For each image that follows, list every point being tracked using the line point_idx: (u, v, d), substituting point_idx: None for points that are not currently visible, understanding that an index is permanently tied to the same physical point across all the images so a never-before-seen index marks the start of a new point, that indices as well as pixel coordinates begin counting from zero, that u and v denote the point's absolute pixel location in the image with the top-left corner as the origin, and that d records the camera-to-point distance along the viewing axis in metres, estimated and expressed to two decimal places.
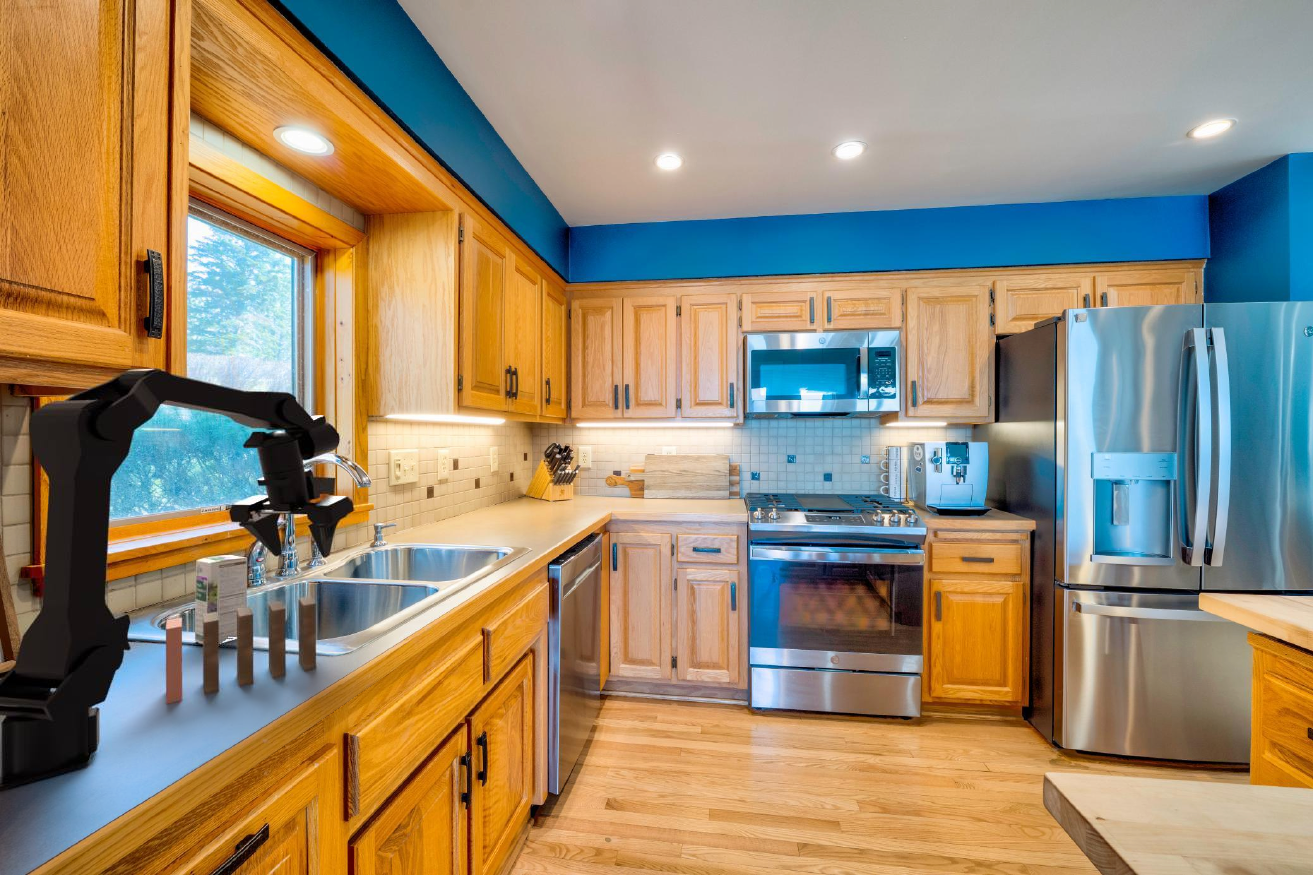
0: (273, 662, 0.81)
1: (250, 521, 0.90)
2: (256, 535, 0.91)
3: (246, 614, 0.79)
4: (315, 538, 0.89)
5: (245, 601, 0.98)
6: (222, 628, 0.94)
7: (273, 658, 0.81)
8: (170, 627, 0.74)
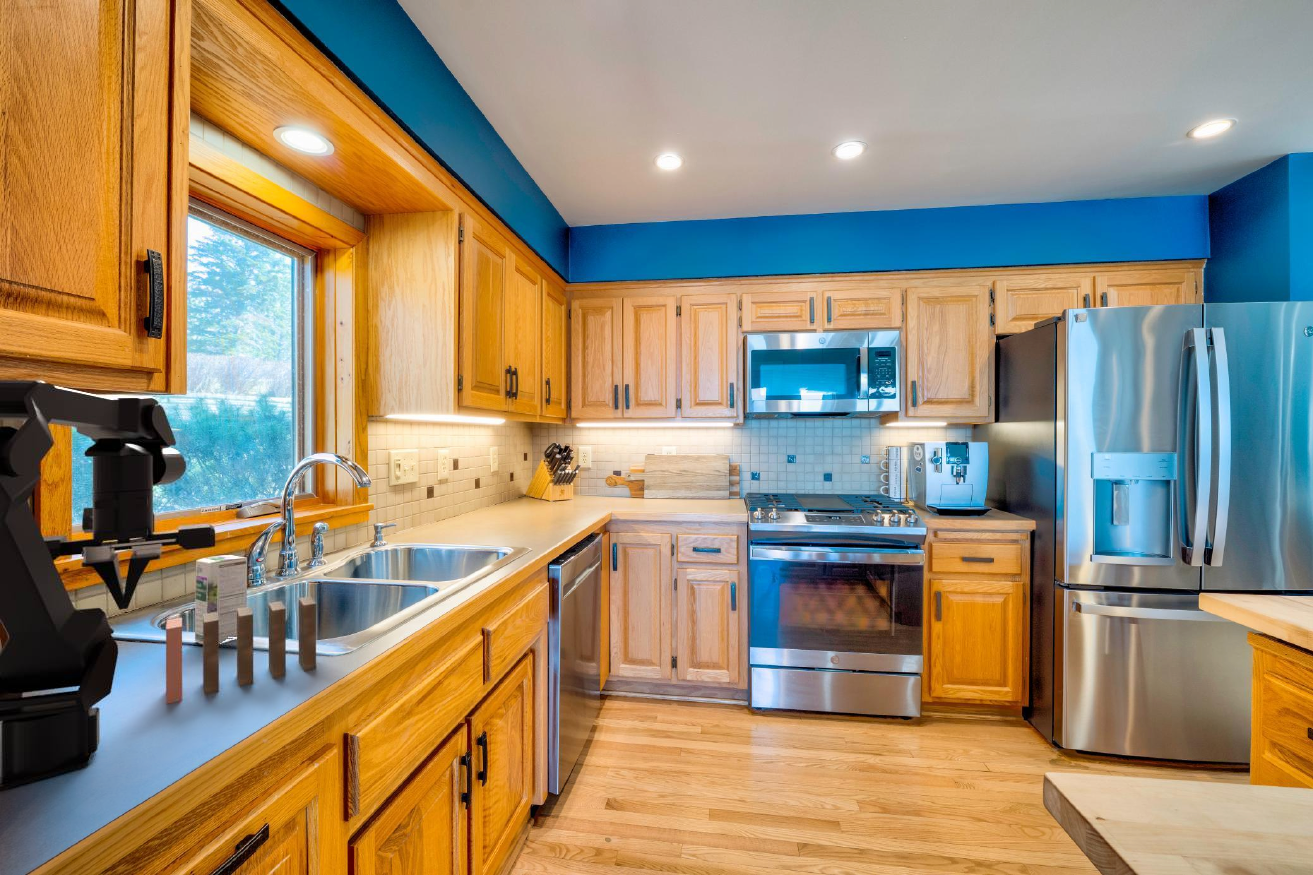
0: (273, 662, 0.81)
1: (102, 559, 0.69)
2: (108, 578, 0.70)
3: (246, 614, 0.79)
4: (130, 578, 0.71)
5: (245, 601, 0.98)
6: (222, 628, 0.94)
7: (273, 658, 0.81)
8: (170, 627, 0.74)
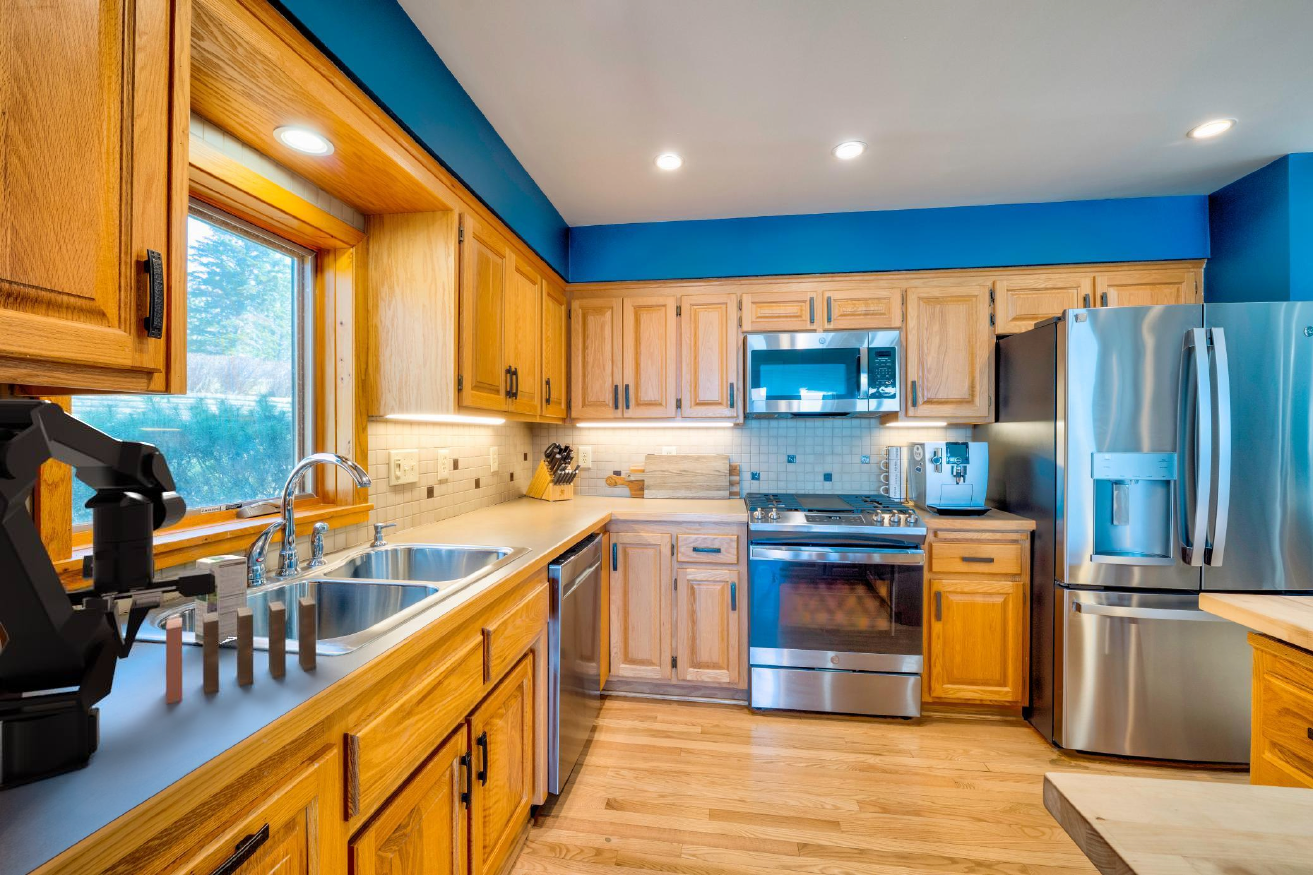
0: (273, 662, 0.81)
1: (102, 610, 0.69)
2: None
3: (246, 614, 0.79)
4: (130, 627, 0.71)
5: (245, 601, 0.98)
6: (222, 628, 0.94)
7: (273, 658, 0.81)
8: (170, 627, 0.74)
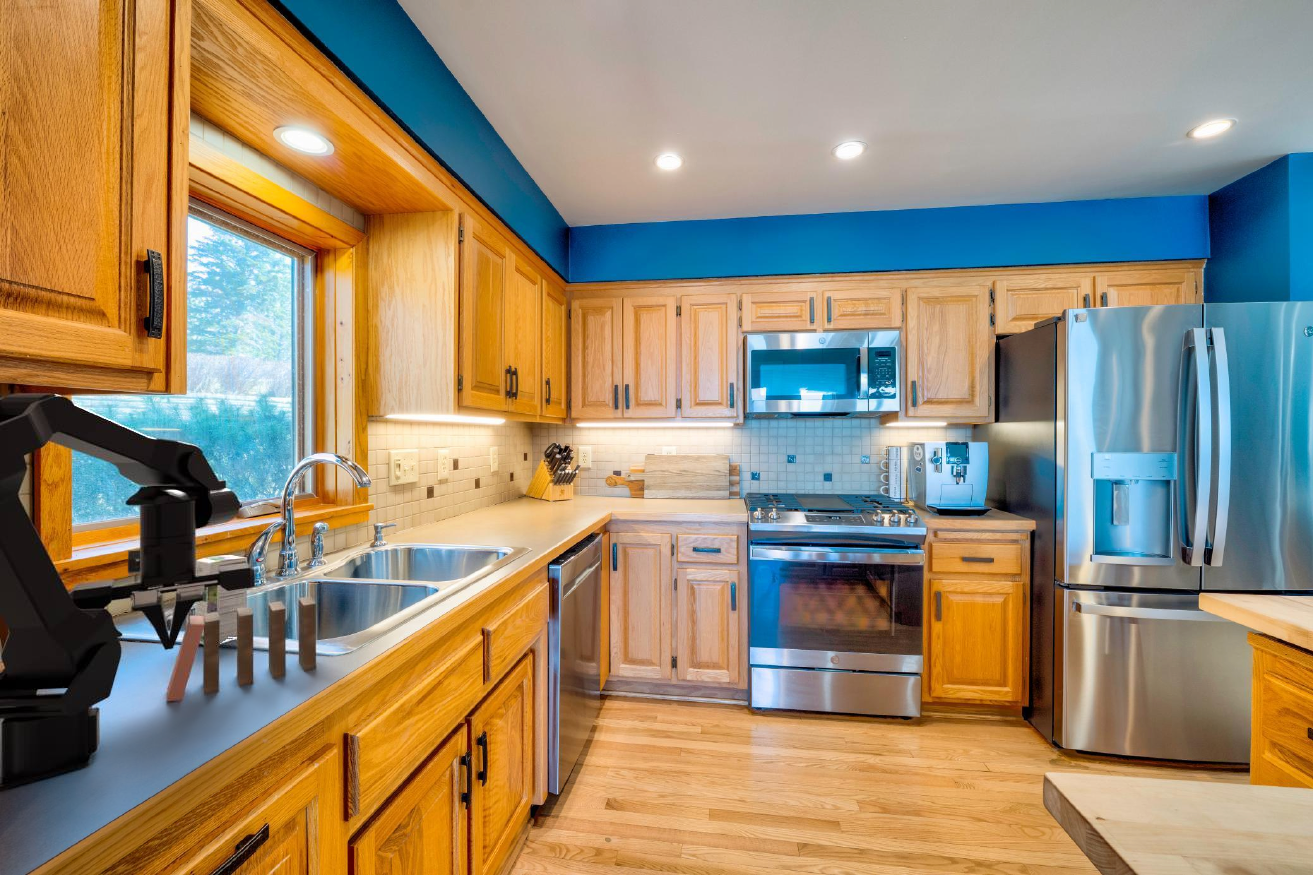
0: (273, 662, 0.81)
1: (150, 603, 0.72)
2: (156, 620, 0.73)
3: (246, 614, 0.79)
4: (176, 619, 0.74)
5: (245, 601, 0.98)
6: (222, 628, 0.94)
7: (273, 658, 0.81)
8: (194, 623, 0.75)
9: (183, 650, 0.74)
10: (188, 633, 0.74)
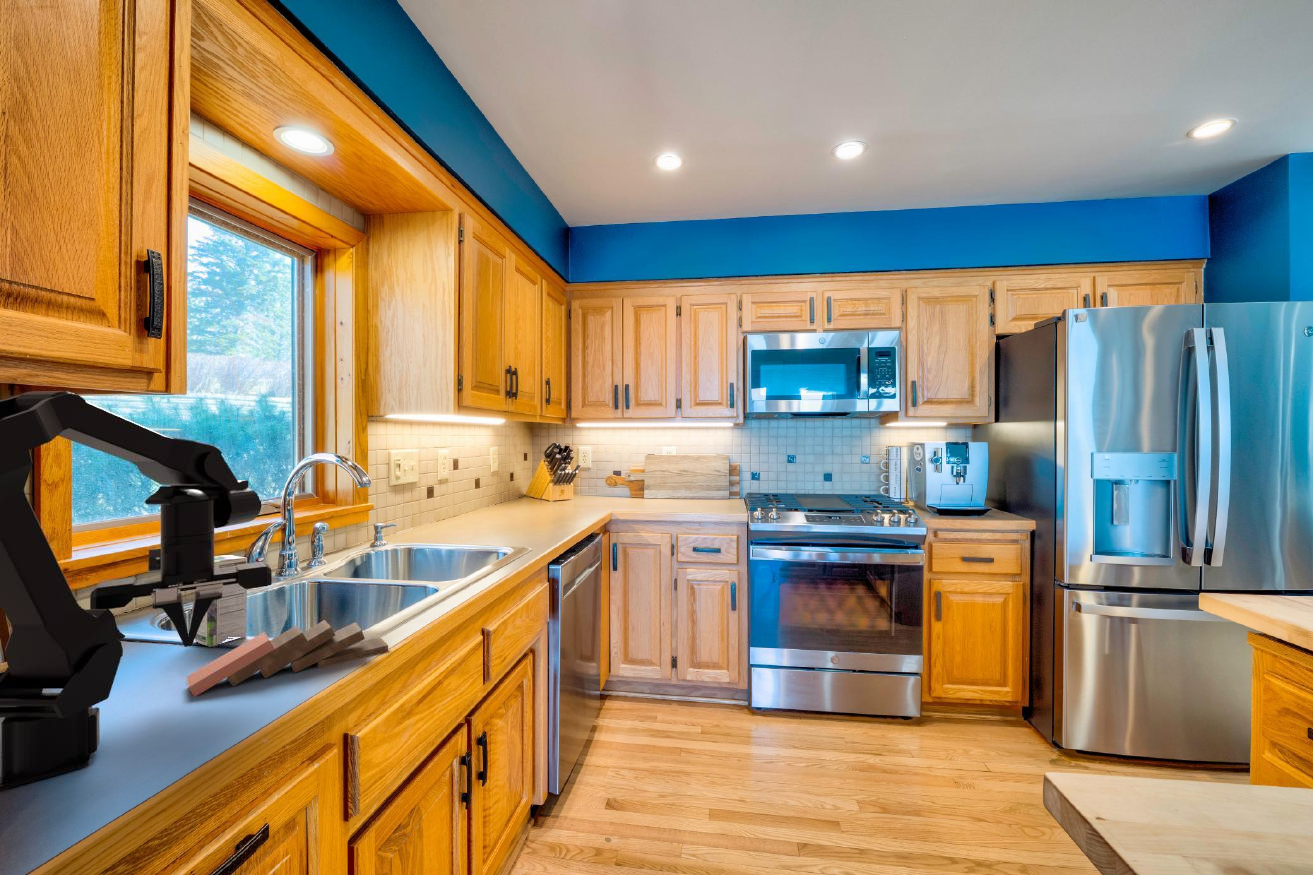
0: (308, 656, 0.84)
1: (170, 600, 0.74)
2: (176, 618, 0.74)
3: (332, 630, 0.86)
4: (195, 617, 0.75)
5: (245, 601, 0.98)
6: (222, 628, 0.94)
7: (312, 654, 0.84)
8: (270, 641, 0.81)
9: (243, 656, 0.79)
10: (260, 646, 0.80)
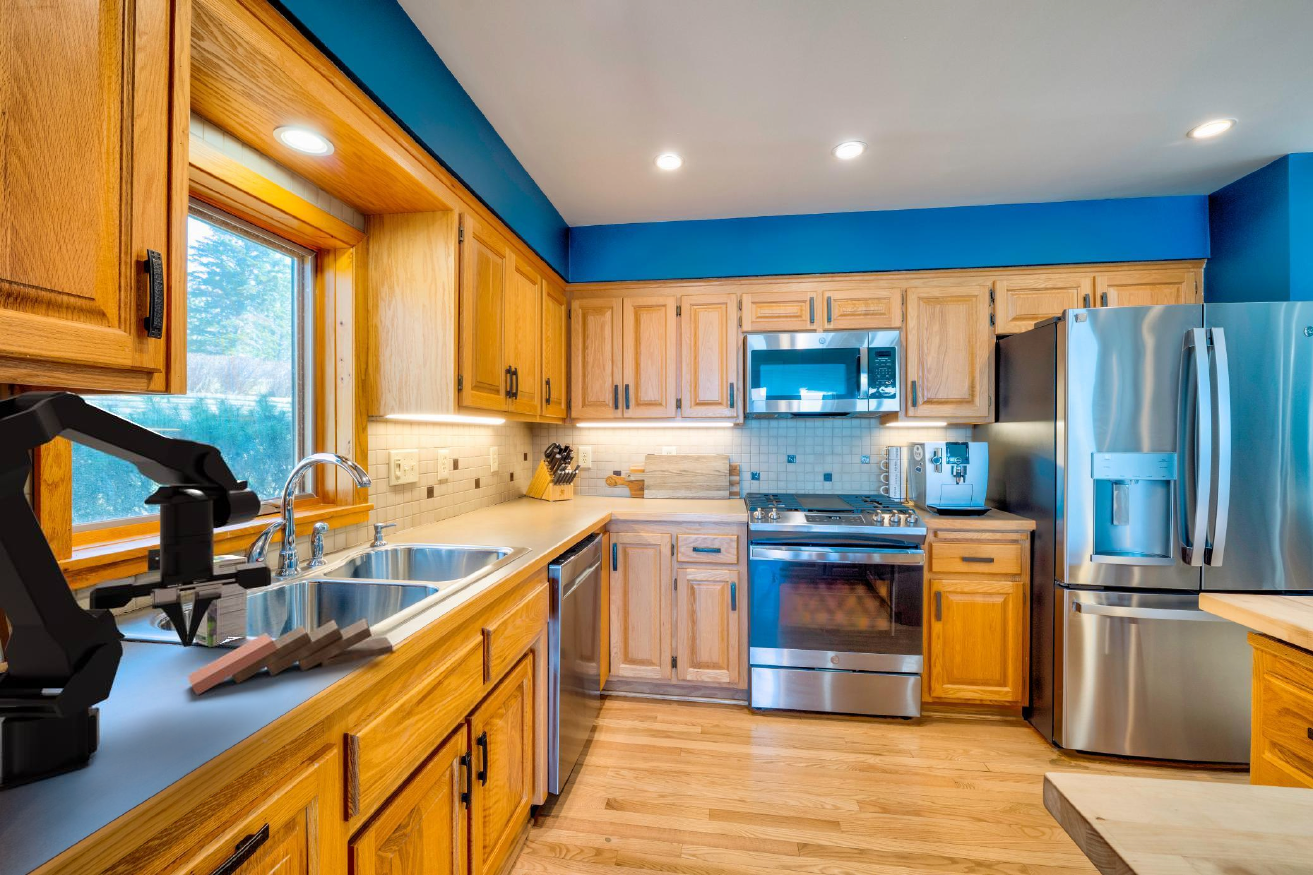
0: (315, 654, 0.84)
1: (169, 600, 0.74)
2: (175, 618, 0.74)
3: None
4: (194, 617, 0.75)
5: (245, 601, 0.98)
6: (222, 628, 0.94)
7: (319, 652, 0.84)
8: (273, 642, 0.82)
9: (246, 655, 0.79)
10: (263, 646, 0.81)
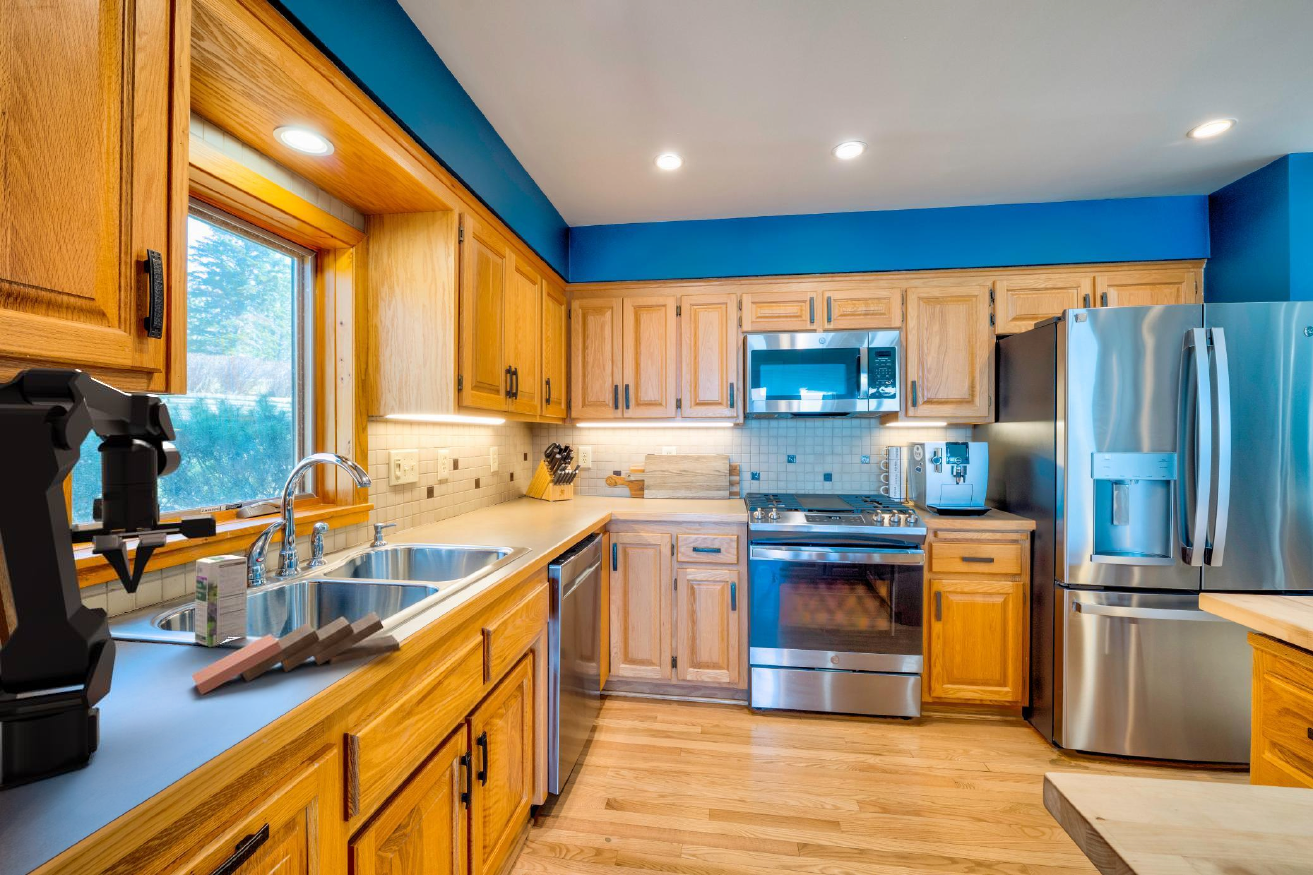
0: (330, 648, 0.85)
1: (111, 547, 0.75)
2: (117, 564, 0.75)
3: (351, 627, 0.88)
4: (137, 564, 0.76)
5: (245, 601, 0.98)
6: (222, 628, 0.94)
7: (334, 646, 0.86)
8: (278, 643, 0.82)
9: (251, 656, 0.80)
10: (268, 647, 0.81)
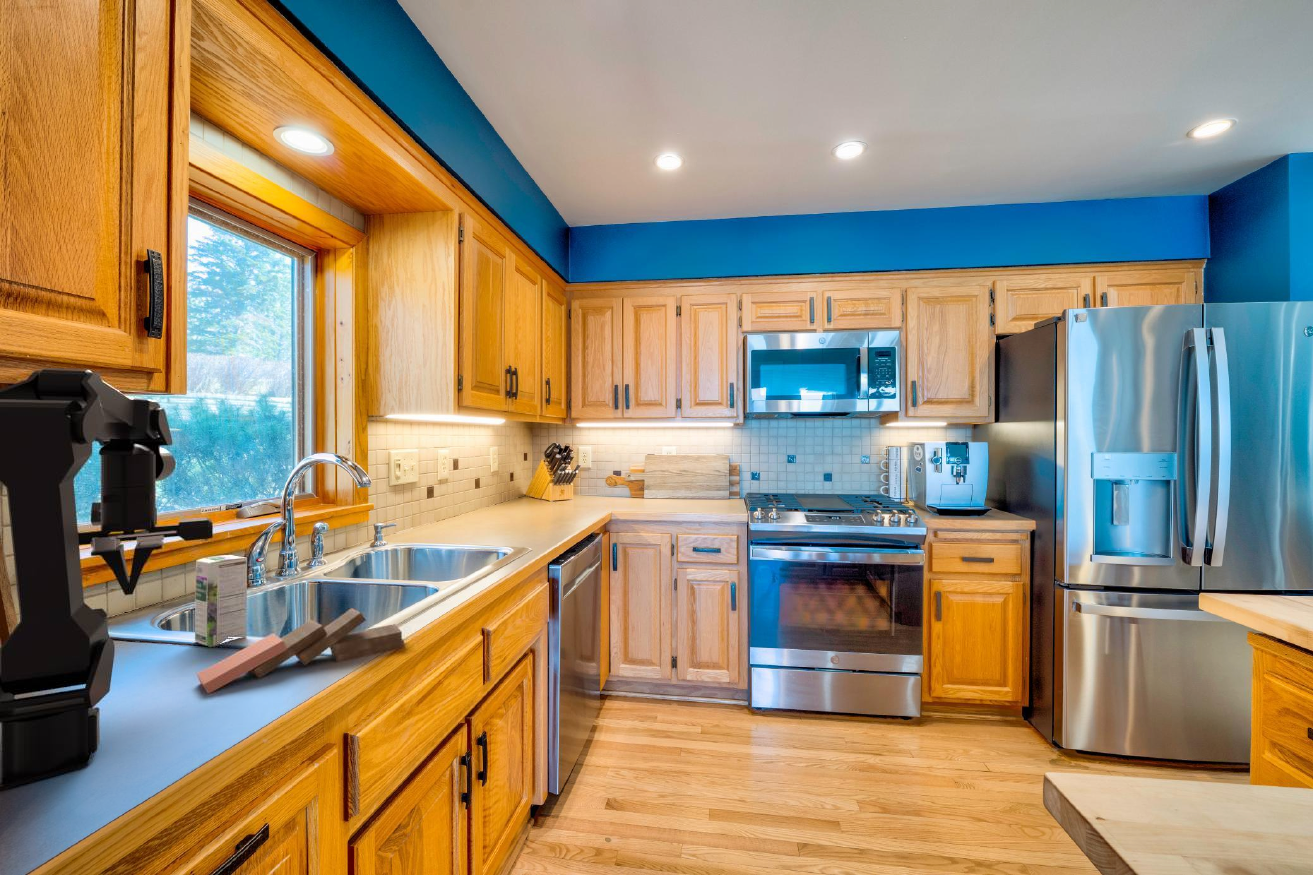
0: (350, 642, 0.88)
1: (109, 549, 0.76)
2: (115, 566, 0.77)
3: (362, 616, 0.90)
4: (135, 566, 0.78)
5: (245, 601, 0.98)
6: (222, 628, 0.94)
7: (354, 642, 0.88)
8: None
9: (257, 655, 0.80)
10: (274, 646, 0.82)
